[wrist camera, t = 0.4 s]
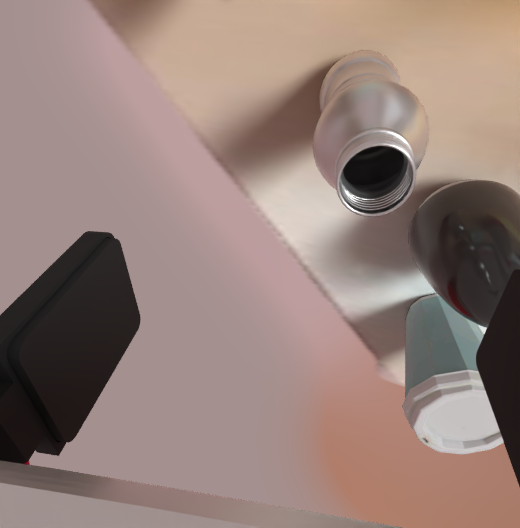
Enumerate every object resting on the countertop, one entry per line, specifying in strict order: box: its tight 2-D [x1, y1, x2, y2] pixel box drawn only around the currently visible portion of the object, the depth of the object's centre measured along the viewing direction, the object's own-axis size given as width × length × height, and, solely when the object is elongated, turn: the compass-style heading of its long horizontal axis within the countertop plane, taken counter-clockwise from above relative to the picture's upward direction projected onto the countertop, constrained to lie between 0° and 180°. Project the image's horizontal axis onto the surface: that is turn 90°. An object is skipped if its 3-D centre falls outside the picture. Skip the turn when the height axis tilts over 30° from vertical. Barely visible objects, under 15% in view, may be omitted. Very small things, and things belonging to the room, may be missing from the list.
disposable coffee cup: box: [402, 294, 504, 454], centre depth 41 cm, size 11×11×15 cm
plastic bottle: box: [313, 50, 429, 217], centre depth 26 cm, size 6×7×20 cm
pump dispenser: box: [408, 180, 520, 328], centre depth 33 cm, size 10×10×15 cm
